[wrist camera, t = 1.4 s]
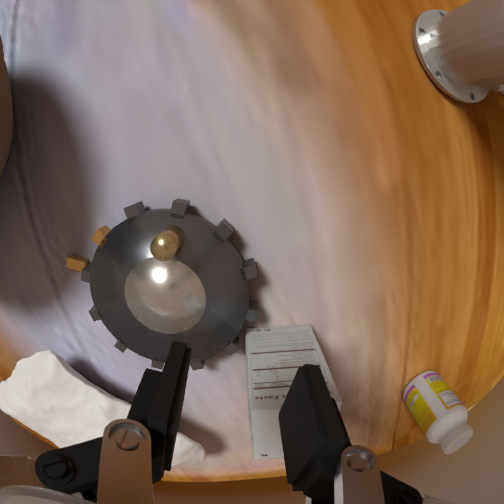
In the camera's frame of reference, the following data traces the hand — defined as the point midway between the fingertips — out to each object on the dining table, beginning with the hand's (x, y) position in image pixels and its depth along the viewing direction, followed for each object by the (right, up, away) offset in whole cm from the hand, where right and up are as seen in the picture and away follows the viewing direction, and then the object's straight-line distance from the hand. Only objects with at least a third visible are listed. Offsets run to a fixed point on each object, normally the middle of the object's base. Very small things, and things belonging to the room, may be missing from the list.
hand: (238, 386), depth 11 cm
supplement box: (+4, -6, +22) cm, 24 cm away
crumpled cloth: (-23, -17, +25) cm, 37 cm away
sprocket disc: (-8, +2, +19) cm, 21 cm away
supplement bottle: (+26, -15, +26) cm, 40 cm away
